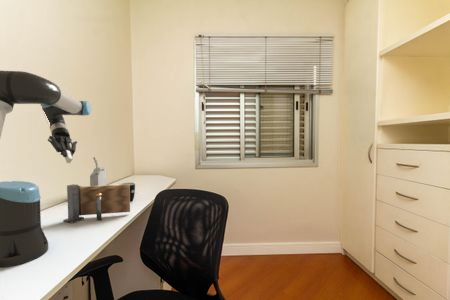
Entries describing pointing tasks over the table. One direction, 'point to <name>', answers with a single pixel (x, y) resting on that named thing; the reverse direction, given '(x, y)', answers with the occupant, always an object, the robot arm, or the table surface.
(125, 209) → the panel
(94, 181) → the fuel canister
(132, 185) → the mug
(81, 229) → the table surface
